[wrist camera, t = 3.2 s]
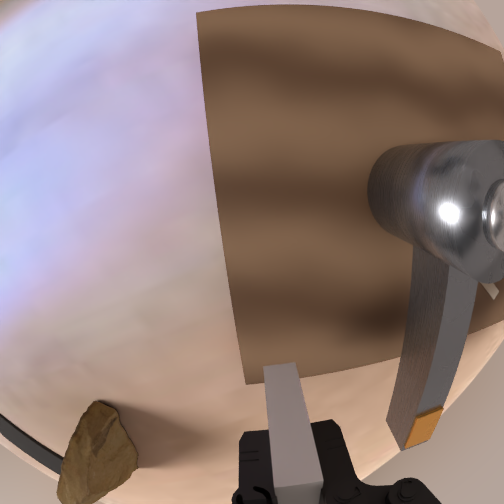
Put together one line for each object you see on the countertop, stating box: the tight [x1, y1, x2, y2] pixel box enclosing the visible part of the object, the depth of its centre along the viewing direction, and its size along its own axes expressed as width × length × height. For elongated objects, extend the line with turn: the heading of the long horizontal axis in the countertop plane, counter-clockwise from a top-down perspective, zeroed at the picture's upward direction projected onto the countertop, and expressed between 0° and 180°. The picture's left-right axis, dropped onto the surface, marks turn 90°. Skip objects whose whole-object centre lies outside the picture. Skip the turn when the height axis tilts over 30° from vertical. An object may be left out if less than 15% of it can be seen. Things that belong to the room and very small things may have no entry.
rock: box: [57, 401, 138, 504], centre depth 19 cm, size 11×9×10 cm
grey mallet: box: [367, 140, 504, 451], centre depth 12 cm, size 17×5×8 cm, turn 7°
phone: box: [0, 414, 64, 475], centre depth 24 cm, size 7×1×15 cm
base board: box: [196, 5, 504, 385], centre depth 15 cm, size 22×22×2 cm
